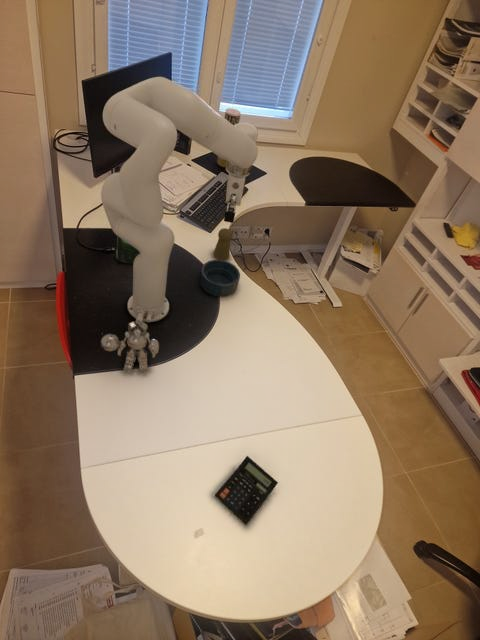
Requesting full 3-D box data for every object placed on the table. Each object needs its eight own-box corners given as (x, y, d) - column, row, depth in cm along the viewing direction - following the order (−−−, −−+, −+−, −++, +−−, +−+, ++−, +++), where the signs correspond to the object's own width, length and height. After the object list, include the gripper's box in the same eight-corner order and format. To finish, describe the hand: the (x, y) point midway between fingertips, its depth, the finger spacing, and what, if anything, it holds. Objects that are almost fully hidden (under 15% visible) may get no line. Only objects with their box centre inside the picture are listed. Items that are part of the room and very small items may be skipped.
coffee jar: (146, 252, 145) (148, 206, 132) (143, 266, 140) (145, 221, 126) (118, 248, 143) (117, 202, 130) (114, 263, 138) (112, 216, 125)
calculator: (214, 495, 93) (216, 490, 91) (245, 459, 101) (248, 454, 99) (246, 525, 91) (249, 521, 88) (275, 486, 98) (279, 481, 96)
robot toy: (100, 372, 109) (97, 336, 98) (103, 353, 113) (101, 317, 102) (157, 373, 112) (160, 339, 101) (158, 355, 116) (161, 320, 105)
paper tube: (214, 161, 200) (223, 108, 182) (227, 161, 203) (237, 108, 185) (219, 168, 196) (229, 114, 178) (232, 168, 199) (243, 115, 181)
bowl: (236, 300, 138) (239, 288, 134) (197, 294, 136) (199, 282, 132) (237, 275, 147) (240, 263, 143) (201, 268, 145) (203, 256, 141)
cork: (220, 248, 155) (225, 223, 147) (232, 256, 153) (238, 232, 145) (209, 254, 151) (214, 229, 144) (221, 262, 149) (227, 238, 142)
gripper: (250, 183, 121) (239, 230, 134) (250, 155, 133) (240, 201, 146) (225, 178, 121) (216, 226, 133) (227, 151, 132) (219, 197, 145)
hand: (229, 213), depth 139 cm, fingers open, 9 cm apart
